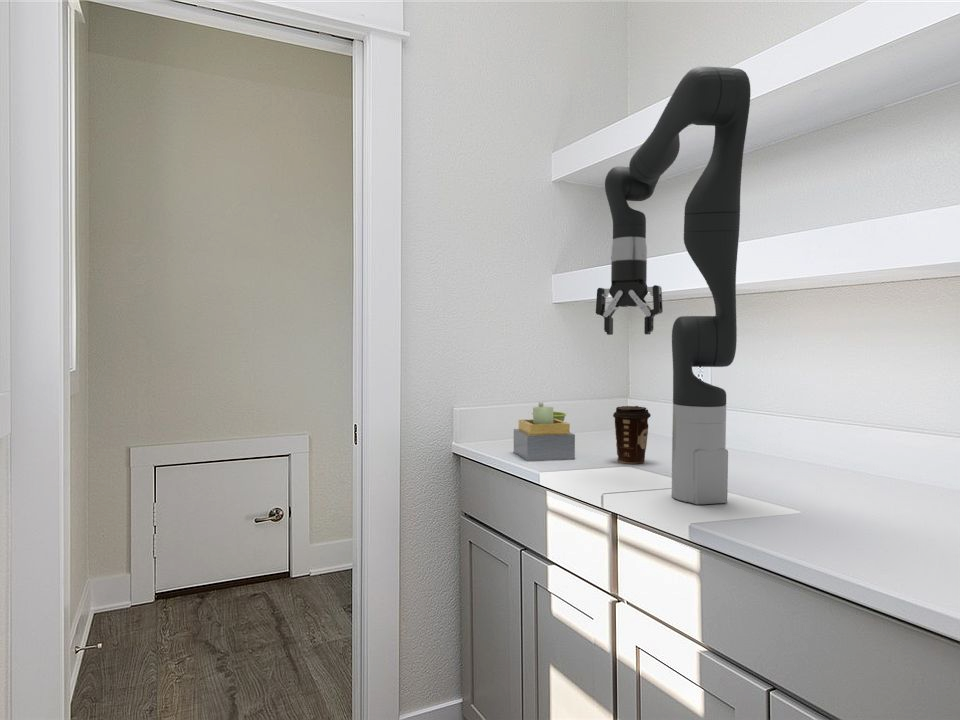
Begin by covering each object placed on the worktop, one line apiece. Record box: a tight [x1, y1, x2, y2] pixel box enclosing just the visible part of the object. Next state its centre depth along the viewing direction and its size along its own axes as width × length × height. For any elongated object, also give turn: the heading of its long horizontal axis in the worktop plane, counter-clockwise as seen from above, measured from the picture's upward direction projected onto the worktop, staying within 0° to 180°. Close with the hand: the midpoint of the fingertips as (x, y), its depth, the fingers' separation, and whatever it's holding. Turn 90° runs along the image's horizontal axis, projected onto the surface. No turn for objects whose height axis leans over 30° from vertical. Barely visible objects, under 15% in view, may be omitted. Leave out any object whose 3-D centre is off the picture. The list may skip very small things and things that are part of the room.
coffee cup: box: [612, 405, 652, 465], centre depth 152 cm, size 9×8×13 cm
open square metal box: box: [513, 418, 576, 462], centre depth 159 cm, size 12×12×8 cm
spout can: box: [532, 400, 554, 424], centre depth 159 cm, size 5×5×10 cm
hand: (628, 334), depth 140 cm, fingers open, 8 cm apart
